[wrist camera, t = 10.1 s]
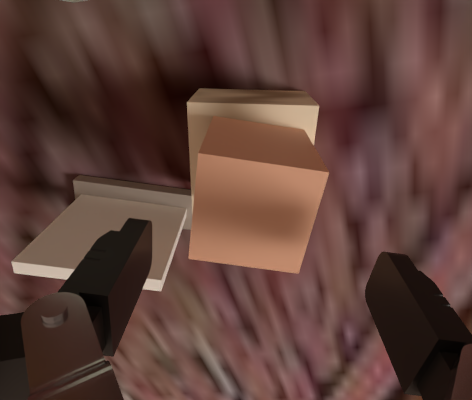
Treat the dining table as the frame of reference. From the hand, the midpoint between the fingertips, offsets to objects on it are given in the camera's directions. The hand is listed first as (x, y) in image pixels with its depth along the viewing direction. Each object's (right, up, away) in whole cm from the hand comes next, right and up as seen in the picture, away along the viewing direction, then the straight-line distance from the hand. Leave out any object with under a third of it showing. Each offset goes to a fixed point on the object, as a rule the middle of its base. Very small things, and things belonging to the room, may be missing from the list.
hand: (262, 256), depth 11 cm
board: (-9, +2, +14) cm, 17 cm away
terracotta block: (0, +4, +7) cm, 8 cm away
